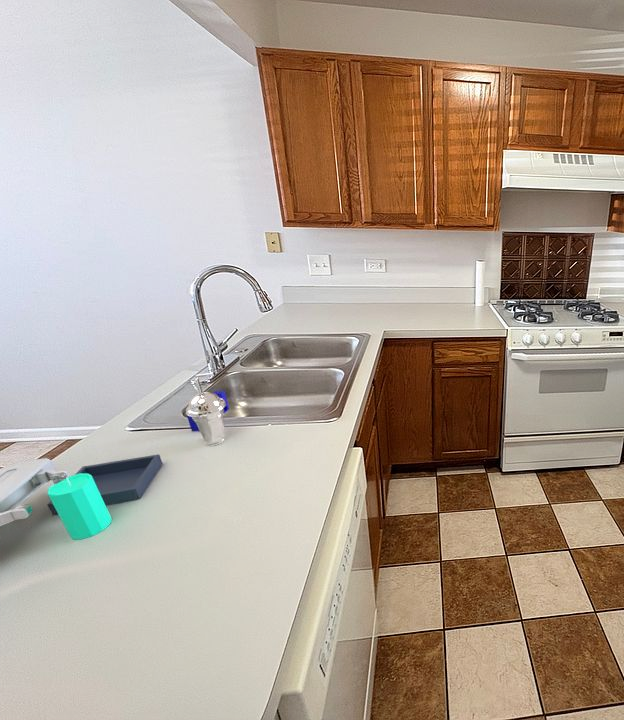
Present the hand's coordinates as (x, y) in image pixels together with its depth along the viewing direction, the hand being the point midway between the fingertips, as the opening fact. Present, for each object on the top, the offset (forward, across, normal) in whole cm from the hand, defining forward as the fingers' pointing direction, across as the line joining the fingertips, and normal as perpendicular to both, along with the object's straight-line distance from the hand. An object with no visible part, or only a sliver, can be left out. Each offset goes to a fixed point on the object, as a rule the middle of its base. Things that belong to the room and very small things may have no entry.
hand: (48, 492), depth 73 cm
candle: (+4, +1, -9) cm, 10 cm away
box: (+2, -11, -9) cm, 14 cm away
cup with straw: (+18, -26, -9) cm, 32 cm away
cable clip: (+12, -38, -9) cm, 41 cm away
